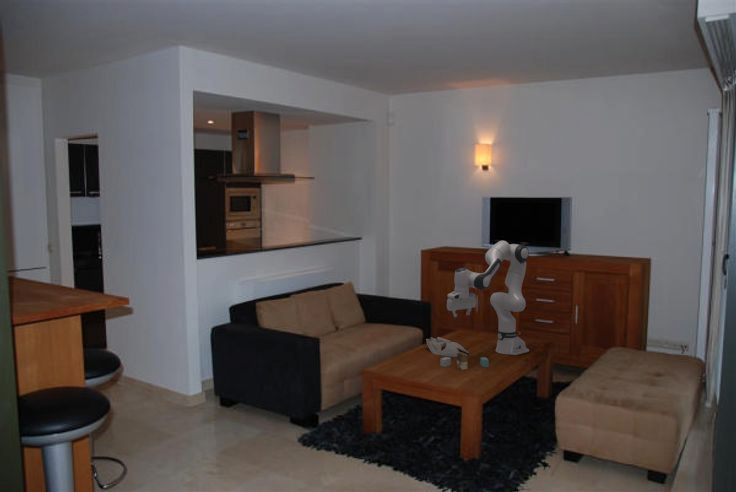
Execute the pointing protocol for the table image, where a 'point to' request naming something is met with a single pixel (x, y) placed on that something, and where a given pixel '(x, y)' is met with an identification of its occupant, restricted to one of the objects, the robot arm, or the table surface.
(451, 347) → the mask
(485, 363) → the teal block
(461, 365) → the maple block
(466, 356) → the walnut block
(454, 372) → the table surface
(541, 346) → the table surface
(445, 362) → the grey block
